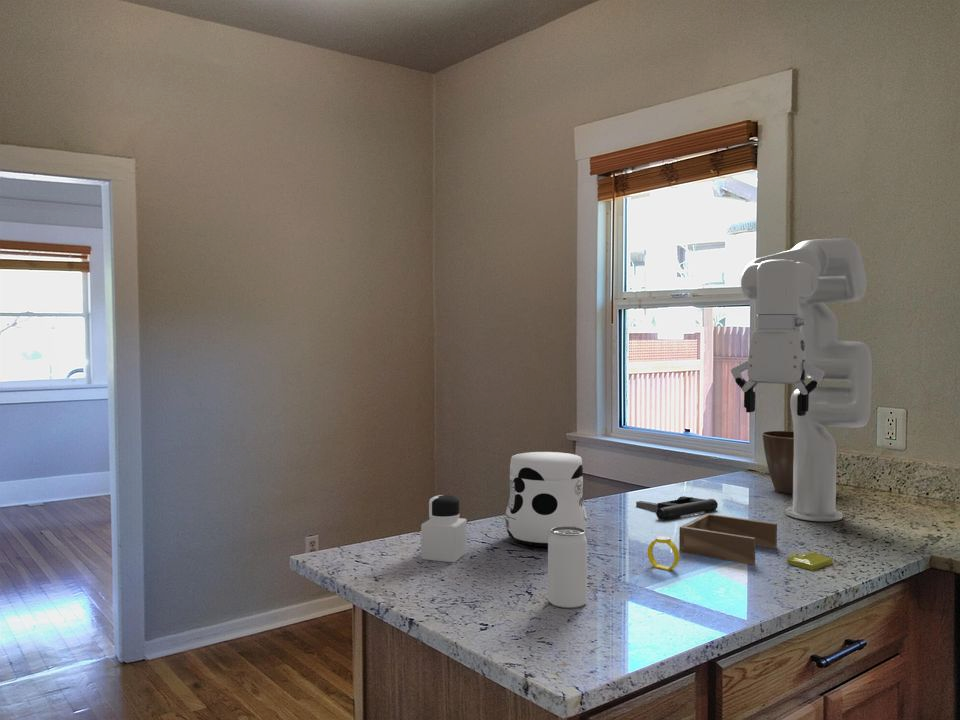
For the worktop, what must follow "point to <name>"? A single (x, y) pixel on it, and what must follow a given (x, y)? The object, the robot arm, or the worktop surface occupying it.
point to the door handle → (679, 507)
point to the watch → (676, 553)
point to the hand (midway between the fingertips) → (775, 413)
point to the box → (726, 537)
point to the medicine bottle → (444, 531)
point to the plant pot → (780, 458)
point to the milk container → (544, 496)
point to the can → (567, 567)
